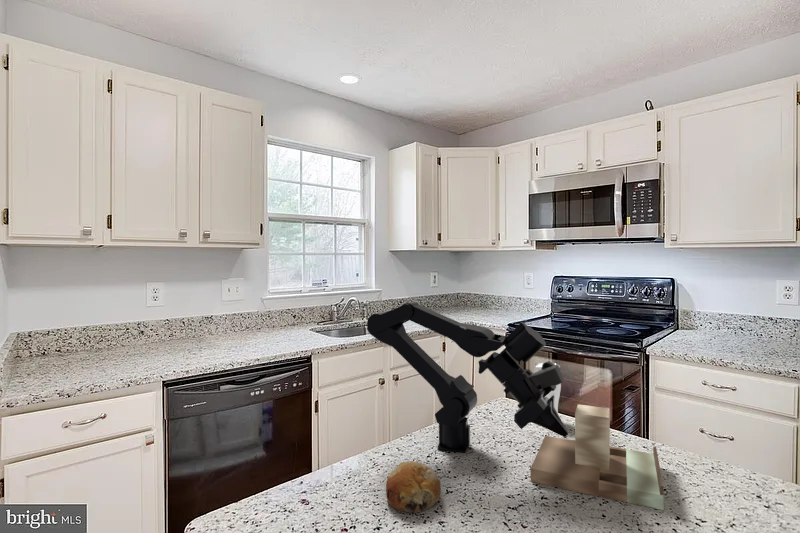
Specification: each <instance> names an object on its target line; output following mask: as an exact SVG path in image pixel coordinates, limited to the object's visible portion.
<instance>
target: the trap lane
mask: <svg viewBox="0 0 800 533" xmlns="http://www.w3.org/2000/svg"><path fill="white" fill-rule="evenodd" d="M652 451H653V452H652V453H651V452H645V451H640V450H633V449H628V448H623V447H622V448H621V447H617V446H616V447H615V446H610V462H609V470H606V469H601V468H595V467H590V466H585V465H580V464H575V439H567V438H562V437H557V436H550V435H545V436H544V438H543V440H542V443H541V444H540V447H539V449H538V451H537V453H536V454H535V458H534V461H533V462H532V464H531V467H530V482H531V483H536V484H539V485H544V486H545V485H546V486H549V487H554V488H559V489H564V490H569V491H573V492H577V493H578V492H579V493H582V494H586V495H591V496H596V497H599V498H600V497H601V498H605V499H610V500H615V501H619V502H624V503H628V504H633V505H638V506H643V507H647V508H651V509H657V510H661V511H664V510H665V509H664V497H665V496H664V493H665V492H664V482H663V477H662V472H661V467H660V466H661V465H660V461H659V454H658V449H657V446H653V450H652Z"/></svg>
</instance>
